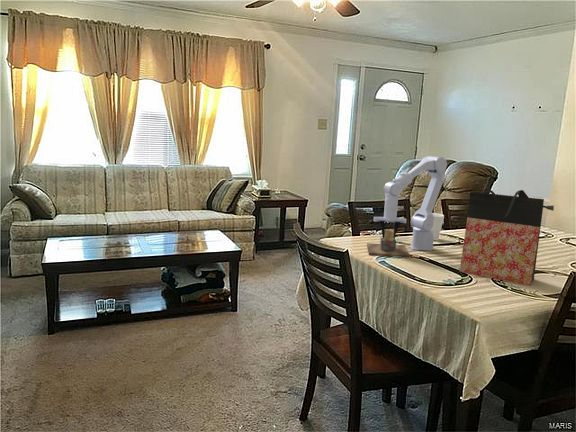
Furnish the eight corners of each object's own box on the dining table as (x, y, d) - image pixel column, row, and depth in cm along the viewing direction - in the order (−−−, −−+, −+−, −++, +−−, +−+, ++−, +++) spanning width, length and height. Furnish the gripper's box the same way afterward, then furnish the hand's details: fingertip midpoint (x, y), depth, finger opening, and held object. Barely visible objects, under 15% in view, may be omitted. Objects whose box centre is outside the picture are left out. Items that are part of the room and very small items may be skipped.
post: (391, 247, 217) (393, 229, 215) (392, 249, 213) (394, 231, 211) (382, 247, 217) (384, 229, 215) (383, 249, 213) (384, 231, 211)
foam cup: (437, 242, 236) (440, 217, 234) (420, 239, 242) (422, 214, 239) (443, 239, 244) (446, 214, 241) (426, 236, 249) (429, 212, 247)
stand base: (404, 247, 223) (405, 236, 222) (410, 257, 205) (411, 245, 204) (366, 245, 225) (367, 234, 224) (368, 254, 207) (369, 242, 206)
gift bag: (457, 273, 185) (467, 186, 178) (466, 265, 196) (475, 183, 190) (540, 289, 169) (554, 194, 162) (544, 280, 180) (557, 190, 174)
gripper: (375, 209, 208) (373, 238, 211) (408, 210, 207) (405, 240, 209) (374, 206, 215) (372, 235, 218) (406, 208, 214) (403, 237, 216)
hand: (388, 237), depth 214 cm, fingers open, 4 cm apart
